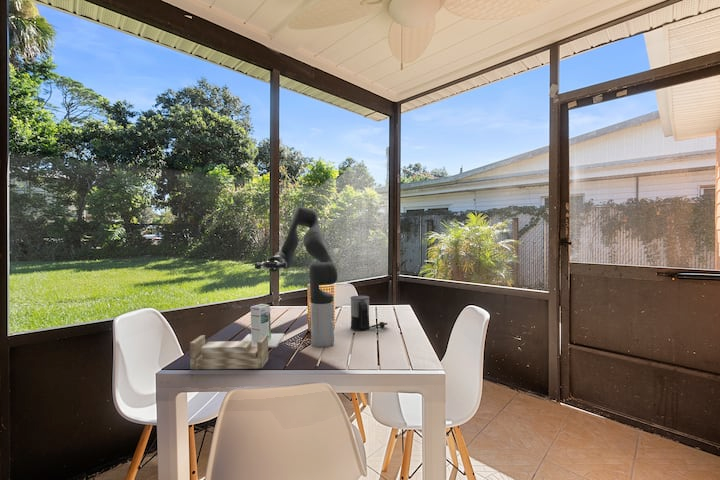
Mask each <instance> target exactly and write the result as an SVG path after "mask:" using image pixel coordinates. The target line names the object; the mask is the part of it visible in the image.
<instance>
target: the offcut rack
mask: <svg viewBox="0 0 720 480" xmlns="http://www.w3.org/2000/svg"><path fill="white" fill-rule="evenodd" d="M268 360H269V348H268V335H263V336H262V337H261V338H260V339H259V341H258V342H257V346H251V341H242V340H235V341H233V340H232V341H225V340H224V341H223V340H222V341H208V342H207V343H206V335H205V334H204V335H202V334H201V335H199V336H198V337H196V338H195V339H194V340H192V341H190V342H189V362H190V365H189V367H190V370H234V369H235V370H240V369H241V370H242V369H243V370H246V369H247V370H249V369H250V370H251V369H252V370H253V369H255V370H256V369H263V368H264V367H265V365H266V363H267V362H268Z"/></svg>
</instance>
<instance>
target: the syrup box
mask: <svg viewBox="0 0 720 480" xmlns="http://www.w3.org/2000/svg"><path fill="white" fill-rule="evenodd" d="M271 325H272V323H271V305H270V304H267V303H259V304H256V305H252V306H250V329H251V332H250V334H251V336H252V340H253V341H257V342H258V341H259V339H260V338H261V337H262V336H263V335H268V339H271V334H272V331H271V330H272V328H271V327H272V326H271Z"/></svg>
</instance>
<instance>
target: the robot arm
mask: <svg viewBox="0 0 720 480" xmlns="http://www.w3.org/2000/svg"><path fill="white" fill-rule="evenodd" d="M298 226H301V227H302V226H303V227H307V228H308V230H307V231H306V232H305V233H304V236H303V244H304V247H305V250H306V252H307V253H308V254H309V256H311V257H312V258H314V259H315V260H317V261H318V262H313V263H311V264H310V266H309V272H308V273H309V287H310V288H309V289H310V290H309V291H310V293H309V294H310V344H311V346H313V347H315V348H316V347H317V348H325V347H330V346H332V347H333V346H334V344H335V318H334V295H333V294H332V293H331V292H326V291H324V290H321V289H320V286H328V285H330V286H331V285H334V284H335V283H337V280H338V270H337V266H336V264H335V263H334V260H333V259H332V258H333V257H332V256H331V254H330V252H329V250H328V247H327V244H326V240H325V238H324V235H323V233H322V229H321V226H320V221H319V217H318V213H317V211H316V210H315V209H313V208H309V207H305V206H297V207H296V209H295V211H294V213H293V215H292V217H291V221H290V225H289V228H288V232H287V235H286V238H285V240H284V243H283V245H282V247H281V249H280V251H277V252H276V253H274V255H273V256H270V257H268V258H267V260H266V261H262V262H260V261H259V262H255V263H254V269H255V270H261V269H262V270H268V271H269V272H272V273H276V272H278V271H280V270H282V269H284V270H288V269H290V268H291V266H292V265H293V261H294V254H295V252H296V249H297V248H298V245H299V240H300V239H299V236H298V231H297V228H298Z"/></svg>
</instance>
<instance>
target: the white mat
mask: <svg viewBox="0 0 720 480" xmlns="http://www.w3.org/2000/svg"><path fill="white" fill-rule="evenodd" d="M284 336H285V333H271V339H268V349H269V348H277V347H278V345H279V344H280V343H281V341H282V339H283V338H284ZM241 341H251V346H257V341H253V340H252V336H251V333H247V335H246V336H245V337H243V339H242V340H241Z"/></svg>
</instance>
